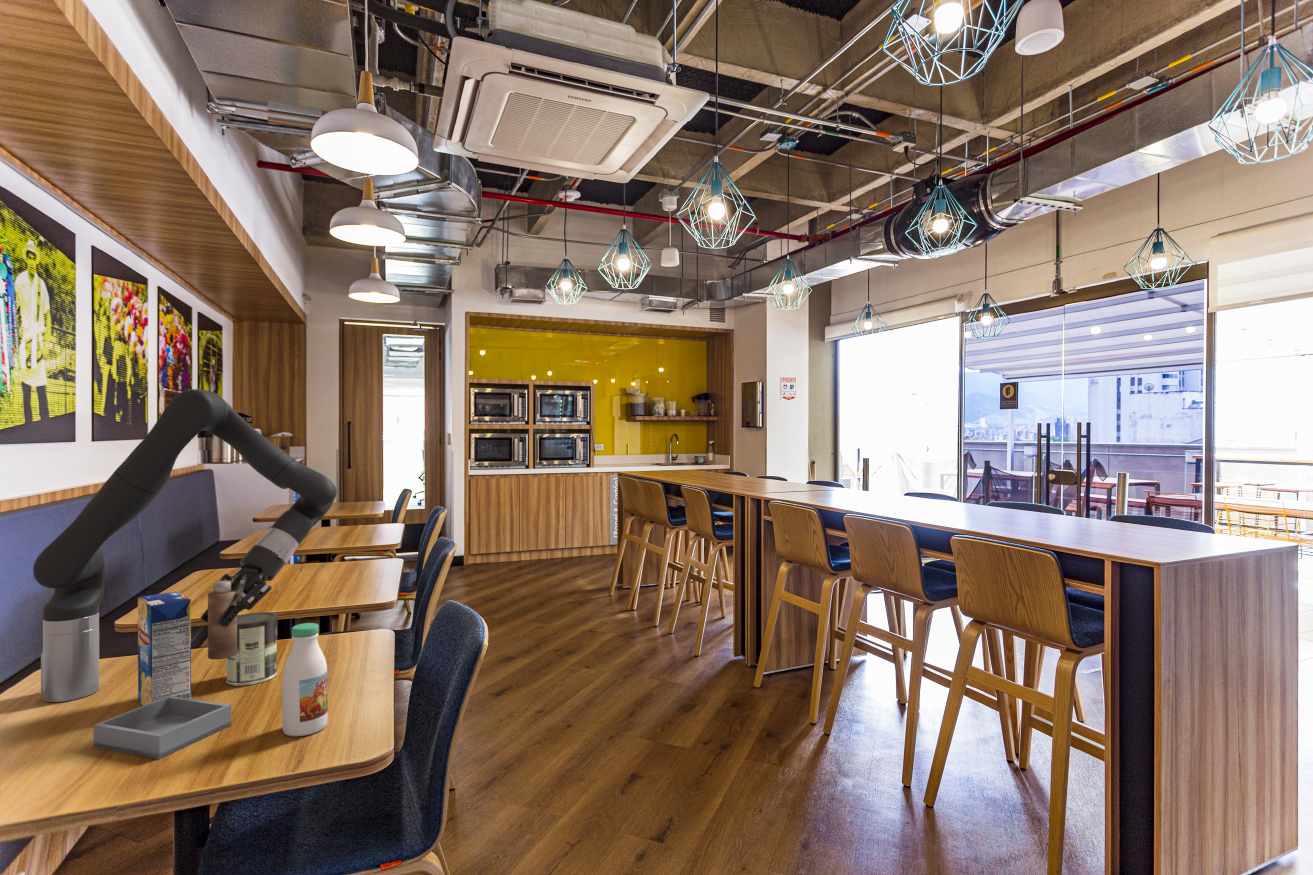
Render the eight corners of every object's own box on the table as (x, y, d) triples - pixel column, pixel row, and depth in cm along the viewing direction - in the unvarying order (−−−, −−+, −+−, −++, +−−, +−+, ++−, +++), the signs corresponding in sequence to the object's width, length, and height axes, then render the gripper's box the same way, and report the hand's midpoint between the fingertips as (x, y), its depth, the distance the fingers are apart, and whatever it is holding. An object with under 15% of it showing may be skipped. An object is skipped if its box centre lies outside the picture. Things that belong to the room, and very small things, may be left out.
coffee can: (263, 666, 162) (262, 609, 162) (285, 675, 156) (285, 615, 156) (216, 680, 153) (216, 619, 153) (239, 689, 148) (239, 626, 148)
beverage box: (151, 713, 135) (151, 605, 135) (138, 699, 142) (137, 597, 142) (191, 703, 140) (190, 599, 140) (176, 690, 147) (176, 591, 147)
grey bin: (93, 746, 121) (93, 724, 121) (169, 715, 134) (169, 695, 134) (159, 758, 116) (159, 736, 116) (231, 725, 130) (231, 704, 130)
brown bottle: (201, 657, 134) (201, 583, 134) (224, 650, 139) (224, 578, 139) (221, 660, 133) (220, 585, 132) (242, 652, 137) (242, 580, 137)
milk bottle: (281, 740, 123) (281, 633, 123) (283, 724, 130) (283, 623, 130) (328, 732, 127) (327, 628, 126) (327, 717, 133) (327, 618, 133)
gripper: (237, 540, 145) (177, 608, 135) (280, 546, 139) (221, 617, 128) (261, 560, 150) (205, 627, 139) (303, 567, 144) (248, 637, 133)
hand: (213, 622), depth 134 cm, fingers closed on brown bottle, 5 cm apart
